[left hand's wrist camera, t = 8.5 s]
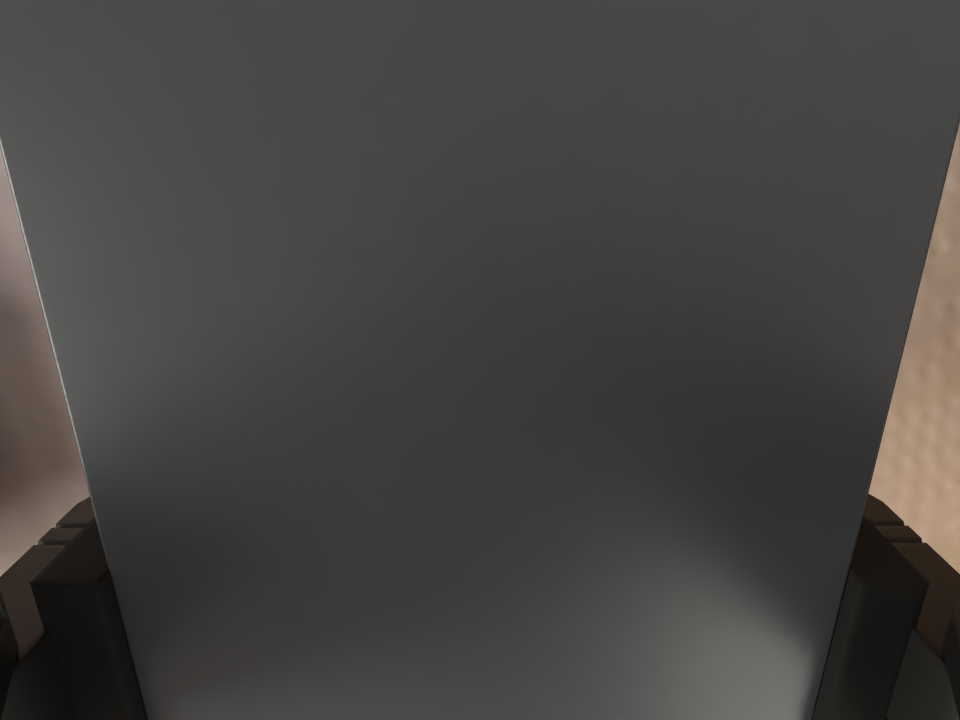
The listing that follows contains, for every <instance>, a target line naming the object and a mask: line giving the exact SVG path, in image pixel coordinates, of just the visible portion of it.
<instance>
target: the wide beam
mask: <svg viewBox="0 0 960 720" xmlns="http://www.w3.org/2000/svg"><path fill="white" fill-rule="evenodd" d="M959 123H960V0H0V147H1V151H2V155H3V159H4V163H5V167H6V171H7V175H8V178H9V182H10V186H11V190H12V194H13V198H14V202H15V206H16V210H17V213H18V217H19V221H20V225H21V229H22V233H23V237H24V241H25V245H26V249H27V252H28V256H29V260H30V264H31V268H32V272H33V276H34V280H35V284H36V287H37V291H38V295H39V299H40V303H41V307H42V311H43V315H44V319H45V323H46V326H47V330H48V334H49V338H50V342H51V346H52V350H53V354H54V358H55V362H56V365H57V369H58V373H59V377H60V381H61V385H62V389H63V393H64V397H65V400H66V404H67V408H68V412H69V416H70V420H71V424H72V428H73V432H74V436H75V439H76V443H77V447H78V451H79V455H80V459H81V463H82V467H83V471H84V474H85V478H86V482H87V486H88V490H89V494H90V498H91V502H92V506H93V510H94V513H95V517H96V521H97V525H98V529H99V533H100V537H101V541H102V545H103V549H104V552H105V556H106V560H107V564H108V568H109V572H110V576H111V580H112V584H113V587H114V591H115V595H116V599H117V603H118V607H119V611H120V615H121V619H122V623H123V626H124V630H125V634H126V638H127V642H128V646H129V650H130V654H131V658H132V662H133V665H134V669H135V673H136V677H137V681H138V685H139V689H140V693H141V697H142V700H143V704H144V708H145V712H146V716H147V720H812V719H813V715H814V711H815V707H816V703H817V699H818V695H819V691H820V687H821V683H822V679H823V675H824V671H825V667H826V663H827V658H828V654H829V650H830V646H831V642H832V638H833V634H834V630H835V626H836V622H837V618H838V614H839V610H840V606H841V602H842V598H843V593H844V589H845V585H846V581H847V577H848V573H849V569H850V565H851V561H852V557H853V553H854V549H855V545H856V541H857V537H858V533H859V529H860V524H861V520H862V516H863V512H864V508H865V504H866V500H867V496H868V492H869V488H870V484H871V480H872V476H873V472H874V468H875V464H876V460H877V455H878V451H879V447H880V443H881V439H882V435H883V431H884V427H885V423H886V419H887V415H888V411H889V407H890V403H891V399H892V395H893V391H894V386H895V382H896V378H897V374H898V370H899V366H900V362H901V358H902V354H903V350H904V346H905V342H906V338H907V334H908V330H909V326H910V322H911V317H912V313H913V309H914V305H915V301H916V297H917V293H918V289H919V285H920V281H921V277H922V273H923V269H924V265H925V261H926V257H927V253H928V248H929V244H930V240H931V236H932V232H933V228H934V224H935V220H936V216H937V212H938V208H939V204H940V200H941V196H942V192H943V188H944V184H945V179H946V175H947V171H948V167H949V163H950V159H951V155H952V151H953V147H954V143H955V139H956V135H957V131H958V127H959Z"/></svg>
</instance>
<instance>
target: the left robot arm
mask: <svg viewBox="0 0 960 720" xmlns="http://www.w3.org/2000/svg"><path fill="white" fill-rule="evenodd" d="M0 720H147V716H146V712H145V708H144V704H143V700H142V697H141V693H140V689H139V685H138V681H137V677H136V673H135V669H134V665H133V662H132V658H131V654H130V650H129V646H128V642H127V638H126V634H125V630H124V626H123V623H122V619H121V615H120V611H119V607H118V603H117V599H116V595H115V591H114V587H113V584H112V580H111V576H110V572H109V568H108V564H107V560H106V556H105V552H104V549H103V545H102V541H101V537H100V533H99V529H98V525H97V521H96V517H95V513H94V510H93V506H92V502H91V498H90V497H89V498H87V499H85V500H83V501H82V502H80V503H78V504H77V505H76V506H75V507H74V508H73V509H72V510H70V511H69V512H68V513H67V514H66V515H65V516H64V517H63V518H62V519H61V520H60V521H59V522H58V523H57V524H56V528H51V529H50V530H49V531H48V532H47V533H46V534H45V535H44V536H43V537H42V538H41V539H40V540H39V541H38V545H34V546H33V547H31V548H30V549H29V550H28V551H27V552H26V553H25V554H24V555H23V556H22V557H21V558H20V559H19V560H18V561H17V562H16V563H15V564H14V565H12V566H11V567H10V568H9V569H8V570H7V571H6V572H5V573H4V574H3V575H2V576H1V577H0ZM812 720H960V574H959V573H958V572H957V571H956V570H955V569H953V568H952V567H951V566H950V565H949V564H948V563H947V562H946V561H945V560H944V559H943V558H942V557H941V556H940V555H939V554H938V553H936V552H935V551H934V550H933V549H932V548H931V547H930V546H929V545H928V544H927V543H922V538H921V537H919V536H918V535H917V534H916V533H915V532H914V531H913V530H912V529H911V528H910V527H909V526H904V521H902V520H901V519H900V518H899V517H898V516H897V515H896V514H895V513H894V512H893V511H892V510H891V509H890V508H889V507H888V506H887V505H885V504H884V503H883V502H882V501H880V500H879V499H877V498H875V497H873V496H872V495H870V494H868V496H867V500H866V504H865V508H864V512H863V516H862V520H861V524H860V529H859V533H858V537H857V541H856V545H855V549H854V553H853V557H852V561H851V565H850V569H849V573H848V577H847V581H846V585H845V589H844V593H843V598H842V602H841V606H840V610H839V614H838V618H837V622H836V626H835V630H834V634H833V638H832V642H831V646H830V650H829V654H828V658H827V663H826V667H825V671H824V675H823V679H822V683H821V687H820V691H819V695H818V699H817V703H816V707H815V711H814V715H813V719H812Z"/></svg>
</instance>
